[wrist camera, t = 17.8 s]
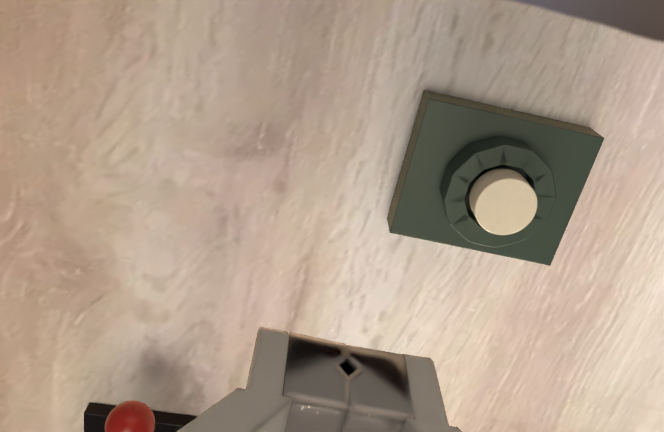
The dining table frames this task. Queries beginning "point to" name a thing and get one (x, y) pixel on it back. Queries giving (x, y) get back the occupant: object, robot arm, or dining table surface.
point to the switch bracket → (98, 412)
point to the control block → (480, 157)
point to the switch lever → (130, 418)
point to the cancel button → (503, 201)
